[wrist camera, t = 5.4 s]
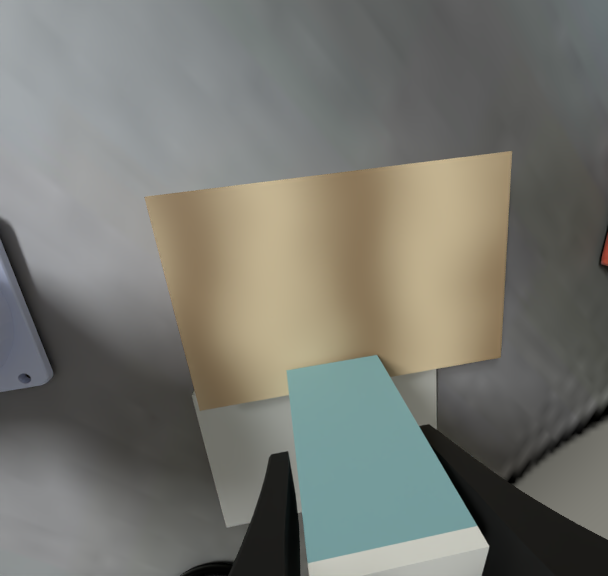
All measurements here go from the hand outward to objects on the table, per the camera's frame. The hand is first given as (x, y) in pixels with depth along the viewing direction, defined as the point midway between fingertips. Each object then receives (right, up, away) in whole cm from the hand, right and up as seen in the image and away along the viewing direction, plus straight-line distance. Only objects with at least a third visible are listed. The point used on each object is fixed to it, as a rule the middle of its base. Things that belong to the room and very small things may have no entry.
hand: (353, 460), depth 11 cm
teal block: (0, +1, +3) cm, 3 cm away
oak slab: (0, +7, +4) cm, 8 cm away
